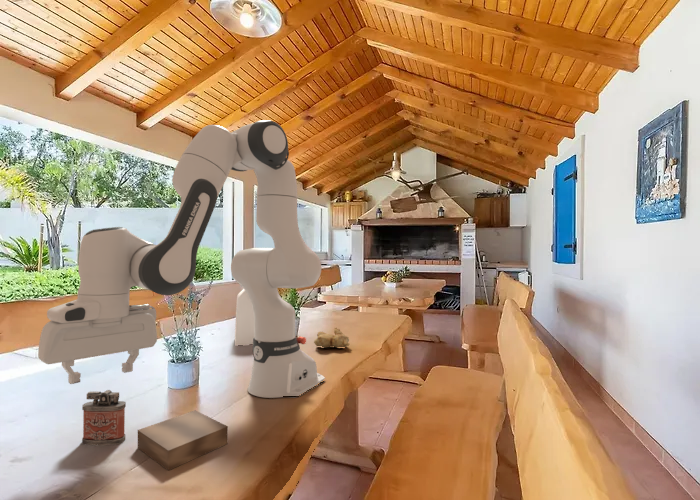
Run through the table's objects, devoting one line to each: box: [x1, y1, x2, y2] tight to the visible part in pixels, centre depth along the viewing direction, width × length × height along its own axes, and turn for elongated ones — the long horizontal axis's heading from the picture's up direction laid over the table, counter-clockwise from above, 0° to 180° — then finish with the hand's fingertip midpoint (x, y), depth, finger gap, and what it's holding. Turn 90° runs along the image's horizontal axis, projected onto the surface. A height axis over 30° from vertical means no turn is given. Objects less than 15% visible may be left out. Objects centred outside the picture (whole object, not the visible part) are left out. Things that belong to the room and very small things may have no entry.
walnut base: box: [137, 410, 229, 471], centre depth 77 cm, size 12×12×4 cm
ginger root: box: [313, 327, 350, 348], centre depth 153 cm, size 16×16×8 cm
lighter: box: [81, 389, 127, 446], centre depth 79 cm, size 8×3×10 cm, turn 92°
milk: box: [234, 288, 255, 347], centre depth 161 cm, size 12×12×26 cm
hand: (102, 377), depth 78 cm, fingers open, 8 cm apart
